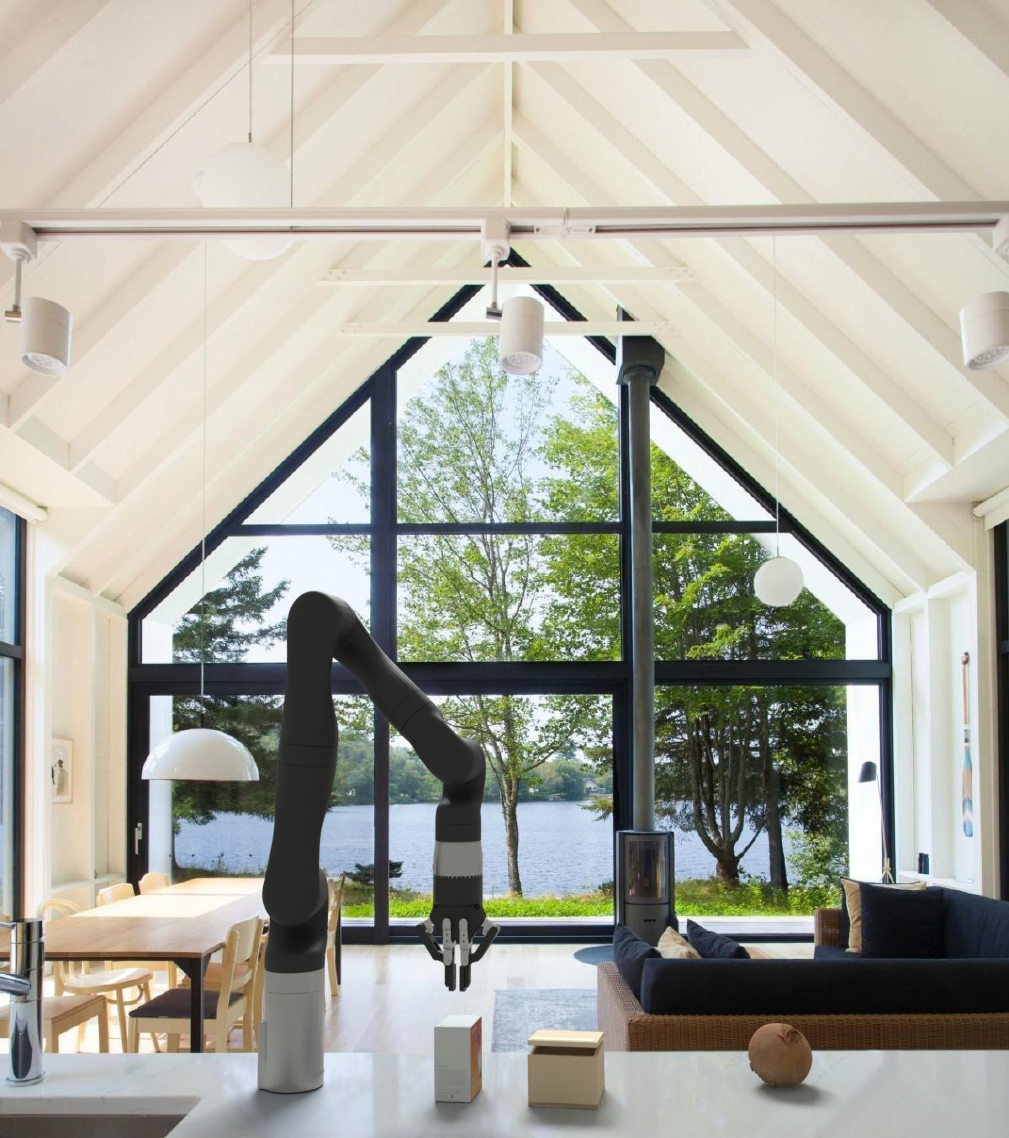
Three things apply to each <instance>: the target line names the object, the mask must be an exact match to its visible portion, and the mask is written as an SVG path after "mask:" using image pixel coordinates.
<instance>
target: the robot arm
mask: <svg viewBox="0 0 1009 1138" xmlns="http://www.w3.org/2000/svg"><path fill="white" fill-rule="evenodd" d="M287 614H288V615H287V619H286V680H285V681H286V682H285V690H284V698H283V705H282V716H281V717H282V718H281V727H280V734H279V741H278V743H279V744H278V750H277V759H276V762H277V763H276V773H275V774H276V775H275V792H274V821H273V822H274V823H273V832H272V833H273V834H272V840H271V845H270V851H269V856H268V861H267V866H266V870H265V871H266V872H265V875H264V879H263V884H262V890H261V898H262V904H263V906H264V910H265V911H266V913H267V915H268V917H269V924H268V925H269V927H268V928H269V930H268V936H267V943H266V947H265V951H264V959H263V960H264V969H263V971H264V972H263V973H264V974H263V975H264V976H263V978H264V979H263V1019H262V1020H260V1022H258V1028H257V1029H258V1030H257V1032H258V1034H257V1035H258V1037H257V1082H256V1083H257V1085H256V1087H257V1089H262V1090H266V1091H269V1092H271V1093H272V1092H274V1093H280V1094H281V1093H282V1094H283V1093H284V1094H286V1093H287V1094H289V1093H292V1094H293V1093H301V1092H308V1091H312V1090H314V1089H318V1088H320V1087H322V1086H323V1084H324V1076H325V1075H324V1074H325V1012H326V1010H325V1006H326V1005H325V1003H326V1002H325V1001H326V999H325V998H326V996H325V992H326V990H325V988H326V985H325V984H326V954H327V953H326V952H327V947H328V936H329V935H328V934H329V904H330V902H329V901H330V899H329V897H330V896H329V893H330V892H329V891H330V890H329V882H328V879H327V877H326V874H325V872H324V871H323V869H322V868H321V867H320V857H321V856H320V853H321V852H320V850H321V849H320V848H321V837H322V831H323V826H324V822H325V818H326V815H327V811H328V807H329V803H330V801H331V796H332V794H333V793H332V792H333V789H334V783H335V778H336V773H337V766H338V765H337V764H338V751H339V744H340V743H339V742H340V741H339V735H340V734H339V725H338V718H337V713H336V707H335V704H334V698H333V693H332V669H333V662H334V661H333V659H334V660H335V661H337V662H338V663H339V664H341V665H342V666H343V667H345V668H346V670H347V671H349V673H350V674H352V676H353V677H354V678H355V679H356V681H357V682H359V684H360V685H361V687H362V688H363V690H364V691H365V693H366V694H367V696H368V697H369V699H370V700H371V702H372V704H373V705H374V706H375V707H376V709H377V710H378V711H379V713H380V714H381V715H382V717H384V718H385V720H386V721H387V722H388V723H389V725H391V727H393V728H394V730H396V731H397V732H398V733H399V734H400V735H401V736H402V737H403V738H404V739H405V740H406V741H407V742H408V743H409V744H410V745H411V747H412V749H413V751H414V752H415V753H416V754H417V756H418V757H419V759H420V761H421V762H422V763H423V764H424V766H425V767H426V768H427V770H428V771H429V772H430V773H431V774H432V775H433V776H434V777H435V778H436V779H437V780H439V781H440V782H442V793H441V794H442V795H441V796H442V797H441V801H440V802H439V804H438V805H437V807H436V809H435V818H434V824H435V825H434V828H435V829H434V832H435V833H434V835H435V836H434V848H433V849H434V850H433V854H432V855H433V856H432V857H433V858H432V881H433V882H432V908H431V910H430V912H429V918H427V919H424V921H421V922H419V923H418V924H416V925H415V927H414V929H415V932H416V934H417V935H418V937H419V938H420V940H421V943H422V944H423V945H424V947H425V948H426V950H427V952H428V953H429V956H431V959H432V960H433V961H438V962H441V963H442V964H443V965H444V986H445V988H448V992H455V991H456V990H457V962H455V961H456V946H457V941H458V942H459V950H460V953H459V955H460V959H459V960H460V965H459V966H458V967H459V971H458V972H459V979H458V981H459V987H458V988H459V992H462V993H463V992H464V993H465V992H466V991H467V989H468V988H469V987H470V986H471V983H472V964H473V963H477V962H478V963H479V962H480V961H481V960H482V959H483V957H484V956H485V954H486V953H487V951H488V949H489V948H490V946H492V943H493V941H495V939H496V937H497V936H498V934H499V932H500V931H501V925H500V924H498V923H494V922H493V921H491V920H489V919H488V918H487V913H486V911H485V909H484V903H483V902H484V893H483V892H484V858H483V857H484V856H483V847H482V815H481V813H482V812H481V811H482V803H483V798H484V792H485V784H486V778H487V777H486V776H487V761H486V760H487V759H486V755H485V752H484V749H483V747H481V745H480V744H479V743H478V742H477V741H476V740H474V739H471V738H468V737H461V736H459V735H458V734H457V733H456V732H455V731H454V730H453V729H452V728H451V727H450V726H449V725H448V723H447V722H446V721H445V720H444V714H443V713H442V711H441V709H440V708H439V707H438V706H437V705H436V704H435V702H433V701H432V700H431V699H430V698H429V697H428V696H427V694H426V693H425V692H424V691H422V689H421V688H420V687H419V686H418V685H416V683H415V682H414V681H412V680H411V679H410V677H408V676H407V674H406V673H404V672H403V671H402V670H401V669H400V668H399V666H398V665H396V664H395V663H394V661H392V659H390V657H388V655H387V654H386V653H385V652H384V651H383V649H382V648H381V647H380V646H379V644H378V643H377V642H376V641H375V639H374V638H373V636H371V634H370V632H369V631H368V630H367V628H366V627H365V625H364V624H363V623H362V621H361V619H360V618H359V617H358V615H357V614H356V612H355V611H354V609H353V608H352V607H351V605H350V604H349V603H348V602H347V601H346V600H345V599H343V598H341V597H340V596H338V595H337V596H336V595H334V594H331V593H327V592H325V591H322V590H321V591H320V590H310V591H306V592H303V593H302V594H300V595H299V596H297V598H295V600H294V601H293V602H292V604H291V606H290V608H289V611H288V613H287ZM433 926H434V927H433ZM482 926H483V929H482V935H483V936H484V937H483V938H482V940H481V942H480V943H479V945H478V947H477V948H476V949H475V951H474V952H473V950H472V949H473V939H474V937H475V936H476V935H477V933H478V932H479V930H480V928H481V927H482ZM434 928H435V930H436V931H437V932H438V933H439V936H440V937H441V938H442V947H441V946H440V944H439V942H438V941H437V940H436V938H435V935H433V932H434Z"/></svg>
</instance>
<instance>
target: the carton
mask: <svg viewBox="0 0 1009 1138" xmlns="http://www.w3.org/2000/svg"><path fill="white" fill-rule="evenodd" d="M605 1072H606V1071H605V1039H602V1041H601V1042H600V1044H599V1045H598V1047H597V1048H589V1047H562V1046H535V1045H532V1047H531V1048H530V1050H529V1052H528V1053H527V1100H528V1101H527V1106H528V1107H536V1108H537V1107H538V1108H558V1109H559V1108H560V1109H561V1108H562V1109H579V1110H580V1109H581V1110H584V1109H585V1110H599V1108H600V1105H601V1102H602V1099H603V1096H604V1093H605V1090H606V1086H605V1085H606V1079H605Z"/></svg>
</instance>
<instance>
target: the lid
mask: <svg viewBox="0 0 1009 1138" xmlns="http://www.w3.org/2000/svg"><path fill="white" fill-rule="evenodd" d="M604 1035H605V1032H604V1031H588V1030H587V1031H585V1030H584V1031H582V1030H553V1029H537V1030H536V1031H535V1032H534V1033H533V1034H532V1035H531V1036H530V1037H528V1039H527V1046H533V1045H535V1046H562V1047H589V1048H597V1047H598V1045H599V1044H600V1042H601V1041H602V1040H604V1038H605V1036H604Z"/></svg>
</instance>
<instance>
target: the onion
mask: <svg viewBox="0 0 1009 1138" xmlns="http://www.w3.org/2000/svg"><path fill="white" fill-rule="evenodd" d="M747 1051H748V1053H747V1056H748V1060H749V1061H750V1062H749V1067H750V1068H749V1069H750V1070H751V1073H754V1074H756V1075H757V1077H759V1078H760V1079H761V1081H762V1082H764V1084H766V1085H767V1086H768V1087H771V1086H772V1087H776V1088H783V1089H784V1088H793V1087H796V1086H798V1085H801V1084H802V1083H803V1082H804V1081H805V1080H806V1079H807V1077H808V1075H809V1074H810V1071H811V1069H812V1065H813V1053H812V1048H811V1045H810V1044H809V1041H808V1040H807V1038H806V1037H805V1035H804V1034H803V1033H802V1032H800V1031H799V1029H796V1027H795V1028H794V1027H793V1026H792V1025H791V1024H788V1023H781V1022H780V1023H779V1022H775V1023H767V1024H764V1025H762V1026H761V1027H760V1028H757V1030H756V1031H755V1032H754V1033H753V1035H752V1037H751V1039H750V1041H749V1044H748V1050H747Z"/></svg>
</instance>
